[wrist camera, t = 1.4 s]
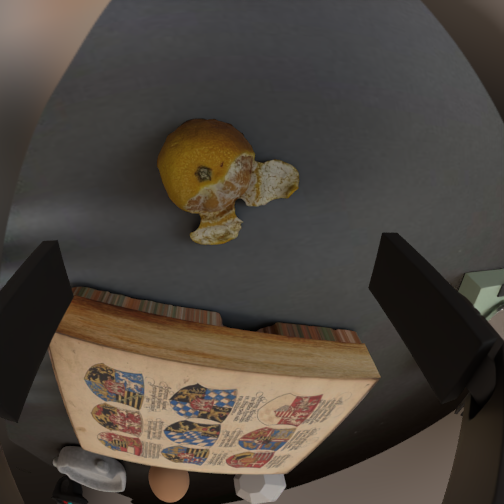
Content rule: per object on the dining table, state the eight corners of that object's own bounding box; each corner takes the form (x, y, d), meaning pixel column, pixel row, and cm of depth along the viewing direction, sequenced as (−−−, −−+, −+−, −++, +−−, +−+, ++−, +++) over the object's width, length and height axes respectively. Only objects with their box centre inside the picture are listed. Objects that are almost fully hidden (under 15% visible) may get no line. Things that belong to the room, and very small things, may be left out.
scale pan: (485, 306, 24) (488, 309, 24) (531, 294, 26) (533, 297, 25) (446, 375, 30) (448, 378, 29) (495, 356, 31) (497, 359, 30)
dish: (100, 443, 37) (96, 469, 32) (142, 473, 44) (141, 495, 39) (43, 439, 37) (38, 461, 33) (87, 470, 44) (84, 489, 40)
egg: (151, 448, 38) (148, 494, 30) (192, 455, 39) (193, 500, 32) (148, 461, 40) (146, 502, 33) (185, 467, 42) (186, 507, 35)
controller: (53, 473, 48) (47, 504, 39) (79, 474, 46) (74, 509, 38) (66, 479, 50) (61, 510, 41) (93, 481, 48) (89, 515, 40)
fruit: (214, 253, 22) (214, 282, 19) (131, 172, 19) (114, 189, 15) (305, 181, 20) (322, 199, 17) (226, 85, 17) (227, 83, 14)
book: (81, 415, 33) (273, 443, 39) (72, 453, 27) (279, 480, 33) (54, 271, 22) (356, 328, 28) (21, 319, 16) (380, 377, 22)
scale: (465, 271, 26) (483, 288, 24) (525, 265, 28) (540, 278, 25) (422, 362, 33) (433, 380, 30) (486, 343, 35) (497, 357, 32)
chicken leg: (250, 481, 50) (272, 509, 44) (217, 474, 38) (244, 514, 32) (283, 460, 52) (306, 488, 46) (259, 448, 40) (290, 486, 34)
